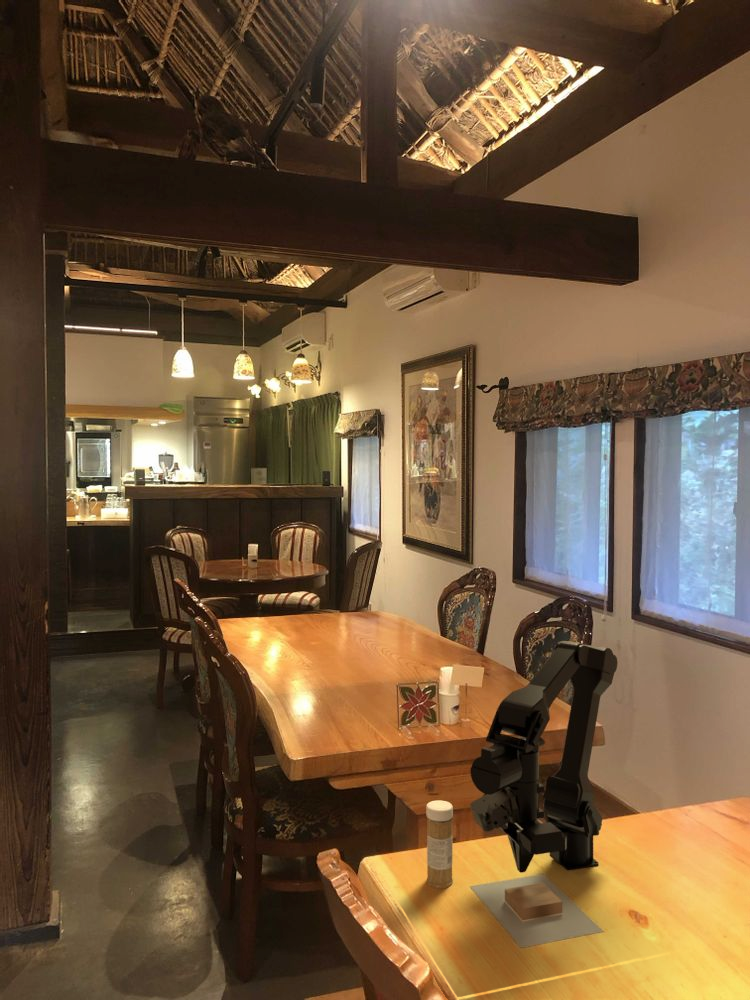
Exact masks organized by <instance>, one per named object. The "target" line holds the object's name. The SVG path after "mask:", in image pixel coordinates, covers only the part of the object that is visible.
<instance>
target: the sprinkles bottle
mask: <svg viewBox="0 0 750 1000" xmlns="http://www.w3.org/2000/svg"><path fill="white" fill-rule="evenodd" d="M425 810H426V811H425V812H426V814H425V816H426V820H427V823H426V830H427V831H426V836H427V837H426V865H427V868H426V869H427V870H426V874H427V878H426V883H427V884H428V885H429V886H430V887H432V888H436V889H446V888H449V887H451V886H452V885H453V883H454V880H453V863H454V862H453V856H454V855H453V846H454V845H453V817H454V807H453V805H452V803H450V802H449V801H446V800H440V799H439V800H432V801H429V802H428V803H427V804H426V808H425Z"/></svg>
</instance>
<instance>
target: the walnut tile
mask: <svg viewBox="0 0 750 1000" xmlns="http://www.w3.org/2000/svg"><path fill="white" fill-rule="evenodd" d="M505 902H506V903H507V905H508V906H509V907H510V908H511V909H512V910H513V911H514V912H515V914H516V915H517V916H518V917H519V918H520V919H521V920H522V921H528V920H534V919H539V918H544V917H550V916H555V915H560V914H562V901H561V900H560V899H559V898H558V897H557V896H556V895H555V894H554V893H553V892H552V891H551V890H550V889H549V888H548V887H547V886H546V885H545V884H544V883H538V884H532V885H526V886H520V887H514V888H509V889H505Z"/></svg>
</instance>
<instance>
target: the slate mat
mask: <svg viewBox="0 0 750 1000" xmlns="http://www.w3.org/2000/svg"><path fill="white" fill-rule="evenodd" d="M538 883H544V884H545V885H546V886H547V887H548V888H549V889H550V890H551V891H552V892H553V893H554V894H555V895H556V896H557V897H558V898H559V899H560V900H561V901H562V914H560V915H555V916H550V917H544V918H539V919H534V920H528V921H522V920H521V919H520V918H519V917H518V916H517V915H516V914H515V912H514V911H513V910H512V909H511V908H510V907H509V906H508V905H507V903H506V902H505V889H509V888H514V887H520V886H526V885H532V884H538ZM469 888H470V889H471V891H473V892H474V894H475V895H476V896H477V898H478V899H479V900H480V901H481V902H482V903H483V905H484V906H485V907H486V908H487V909H488V910H489V912H490V913H491V914H492V915H493V917H494V918H495V919H496V920H497V922H498V923H499V924H500V925H501V926H502V927H503V929H504V930H505V931H506V932H507V933H508V935H509V936H510V937H511V938H512V939H513V941H515V943H516V944H517V946H518V947H519V948H520V949H524V948H528V947H529V948H530V947H534V946H538V945H539V946H540V945H543V944H548V943H553V942H558V941H563V940H569V939H574V938H578V937H584V936H589V935H594V934H599V933H604V932H605V931H604V930H603V929H602V928H601V927H600V926H599V925H598V924H597V923H596V922H594V921H593V920H592V918H590V916H588V915H587V914H586V913H585V911H583V910H582V909H581V908H580V907H579V906H578V905H577V904H576V903H575V902H574V901H572V900H571V899H570V898H569V897H568V896H567V895H566V894H565V893H564V892H563V890H561V889H560V888H559V887H558V886H556V885H555V884H554V883H553V881H551V880H550V879H549V878H548V877H547V876H546V875H545V874H544V873H539V874H535V875H530V876H529V875H528V876H523V877H518V878H511V879H504V880H500V881H499V880H498V881H493V882H487V883H480V884H475V885H469Z"/></svg>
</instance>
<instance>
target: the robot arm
mask: <svg viewBox="0 0 750 1000" xmlns="http://www.w3.org/2000/svg"><path fill="white" fill-rule="evenodd" d="M617 668H618V657H617V656H616V655H615V654H614V653H613V650H612V649H611V648H609V647H603V646H595V645H589V644H584V643H580V642H575V641H566V640H562V641H558V642H557V643H556V644H555V646H554V651H553V652H552V653H551V655H550V656H549V657H548V659H547V660H546V661H545V663H543V665H542V666H541V668H540V669H539V670H538V671H537V673H536V674H535V675H534V676H533V677H532V679H531V680H530V681H529V682H528V683H527V684H526V686H523V687H522V688H519V689H516V690H514V691H512V692H510V693H509V694H508V695H507V696H505V698H503V700H502V701H501V702H500V703H499V705H498V706H497V708H496V712H495V714H494V716H493V720H492V721H491V725H490V727H489V730H488V733H487V735H486V738H485V742H486V743H489V744H492V745H491V746H490V745H489V746H484V747H482V748H481V751H480V756H478V757H476V758H475V759H474V760H473V761H472V764H471V767H470V771H469V772H470V777H471V780H472V783H473V784H474V786H475V787H476V789H477V790H478V791H480V792H481V793H482V794H483V795H482V796H481V797H479V798H477V799H475V800H473V801H471V802H470V805H469V806H470V809H471V812H472V815H473V817H474V821H475V823H476V824H477V825H478V826H479V827H481V829H482V830H483V832H492V831H493V830H494V829H499V828H500V829H501V830H502V831H503V832H504V833H505V834H506V836H507V839H508V841H509V844H510V847H511V851H512V854H513V859H514V863H515V866H516V869H517V871H518V872H519V873H520V874H521V873H526V872H527V870H528V867H529V866H530V864H531V862H532V860H533V858H534V855H535V856H536V855H543V854H548V853H549V856H550V857H551V858H552V859H554V860H555V861H556V862H557V863H558V864H559V865H560V866H562V867H563V868H564V869H565V870H567V871H574V870H580V869H582V870H583V869H586V868H587V869H588V868H593V867H598V866H599V861H597V860H596V859H595V858H594V836H599V835H600V831H601V830H602V827H603V826H602V825H603V823H602V822H603V816H602V814H600V812H599V811H598V810H597V808H596V807H595V805H594V798H595V793H594V789H593V787H592V785H591V782H590V779H589V770H590V769H589V768H590V763H591V755H592V751H593V750H592V749H593V746H594V745H593V744H594V737H595V732H596V726H597V721H598V714H599V708H600V703H601V696H602V695H603V694H604V693H605V692H606V691H607V690H608V689H609V687H610V686H611V685H612V683H613V680H614V676H615V673H616V672H617ZM569 681H570V682H571V685H572V688H573V693H572V699H571V704H570V710H569V716H568V721H567V729H566V734H565V739H564V744H563V751H562V756H561V761H560V762H561V763H560V767H559V769H558V770H557V771H556V772H555V773H554V774H553V775H548V776H547V779H546V781H545V786H544V785H543V784H542V783H540V750H539V749H540V747H542V746H544V745H545V744H546V741H545V740H544V739H543V738H542V736H543V734H544V732H545V730H546V728H547V725H548V724H549V722H550V720H551V718H550V717H551V716H550V708H551V705H552V704H553V702H555V700H556V699H557V697H558V696H559V694H560V693H561V692H562V691H563V689H564V688H565V687H566V685H567V684H568V682H569ZM502 732H503V733H502ZM504 733H506V734H504ZM507 734H510V735H507ZM512 735H514V736H512ZM515 736H518V737H515ZM540 793H541V794H542V793H544V794H543V796H542V808H543V809H542V808H540ZM542 818H543V819H544V818H545V820H546V822H542V821H541V820H540V819H542Z"/></svg>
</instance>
